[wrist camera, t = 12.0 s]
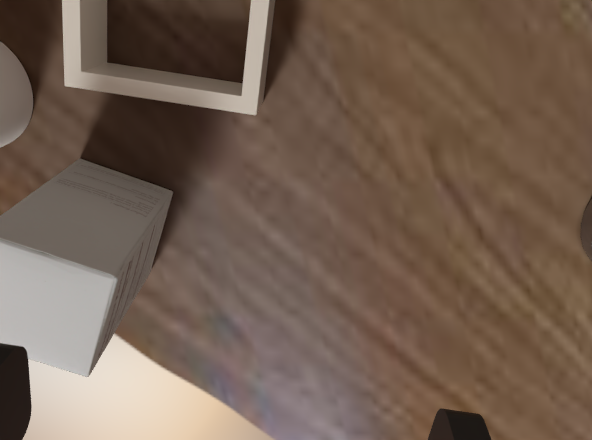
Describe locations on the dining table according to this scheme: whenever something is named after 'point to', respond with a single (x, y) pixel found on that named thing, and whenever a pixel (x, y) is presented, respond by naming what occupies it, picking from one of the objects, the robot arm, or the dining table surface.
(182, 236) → the dining table surface
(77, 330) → the supplement box
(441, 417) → the robot arm
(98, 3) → the holder
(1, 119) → the cup
